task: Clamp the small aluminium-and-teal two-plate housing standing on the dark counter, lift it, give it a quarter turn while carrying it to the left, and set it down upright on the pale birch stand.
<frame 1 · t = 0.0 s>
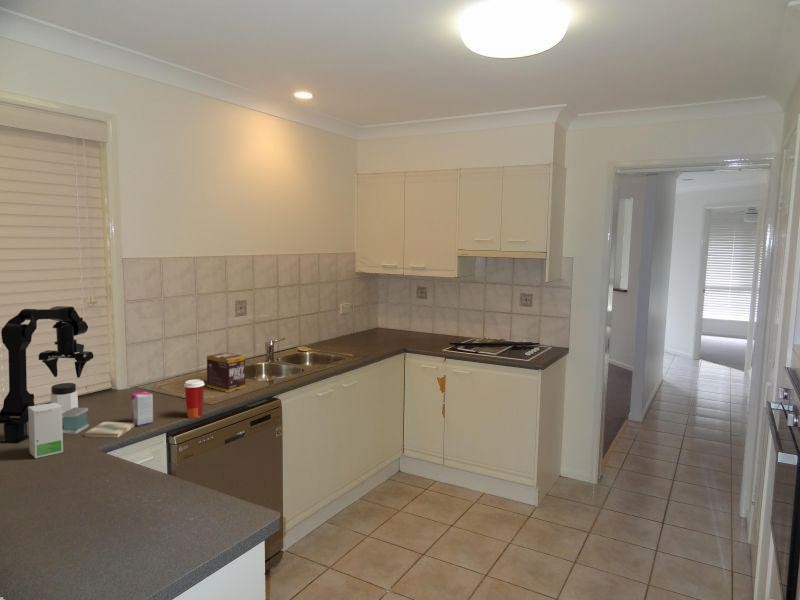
hand: (67, 377, 213), 15 cm above the worktop, fingers open, 9 cm apart
birch stand: (110, 430, 196), on the worktop
housing: (75, 430, 197), on the worktop
supplement box 2: (226, 388, 255), on the worktop
supplement box: (142, 423, 205), on the worktop
skincare box: (47, 453, 176), on the worktop
paper cup: (194, 416, 214), on the worktop
jar: (65, 415, 212), on the worktop
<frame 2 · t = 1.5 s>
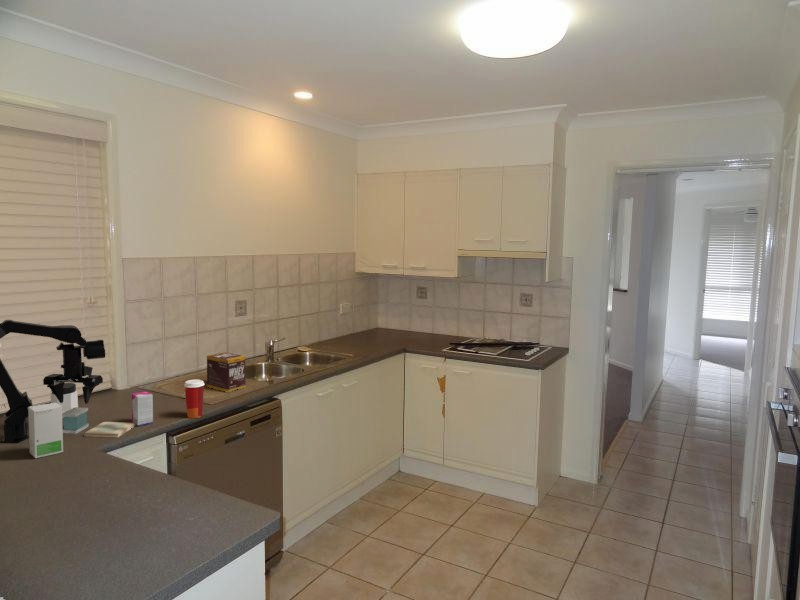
hand: (74, 403, 196), 10 cm above the worktop, fingers open, 9 cm apart
nothing on the worktop moved.
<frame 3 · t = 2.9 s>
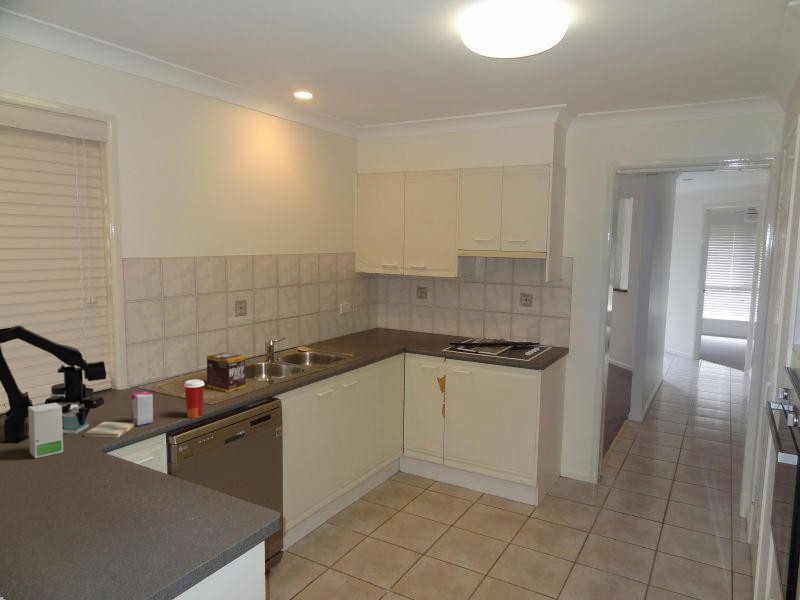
hand: (75, 424, 197), 2 cm above the worktop, fingers closed on housing, 5 cm apart
housing: (75, 429, 197), on the worktop, touching gripper
everything else where it was.
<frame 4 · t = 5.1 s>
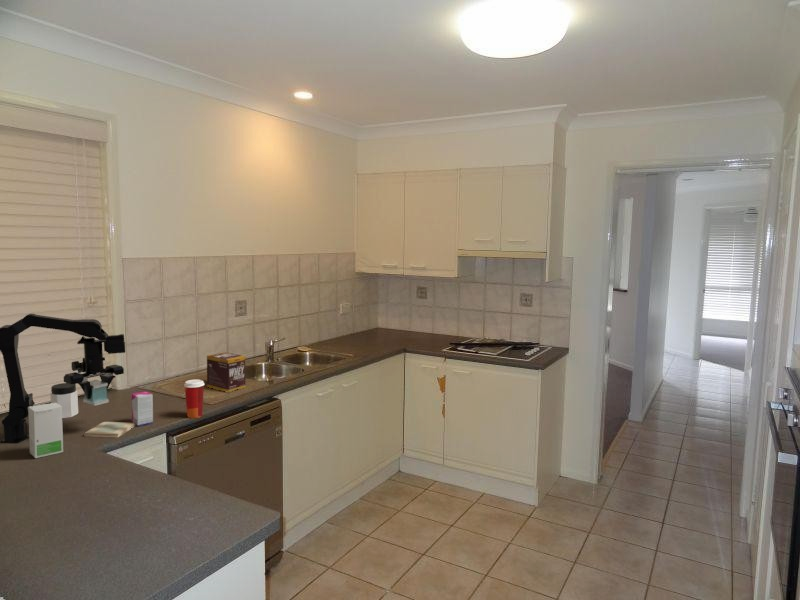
hand: (96, 397, 195), 12 cm above the worktop, fingers closed on housing, 5 cm apart
housing: (96, 402, 196), point 11 cm above the worktop, touching gripper
everything else where it was.
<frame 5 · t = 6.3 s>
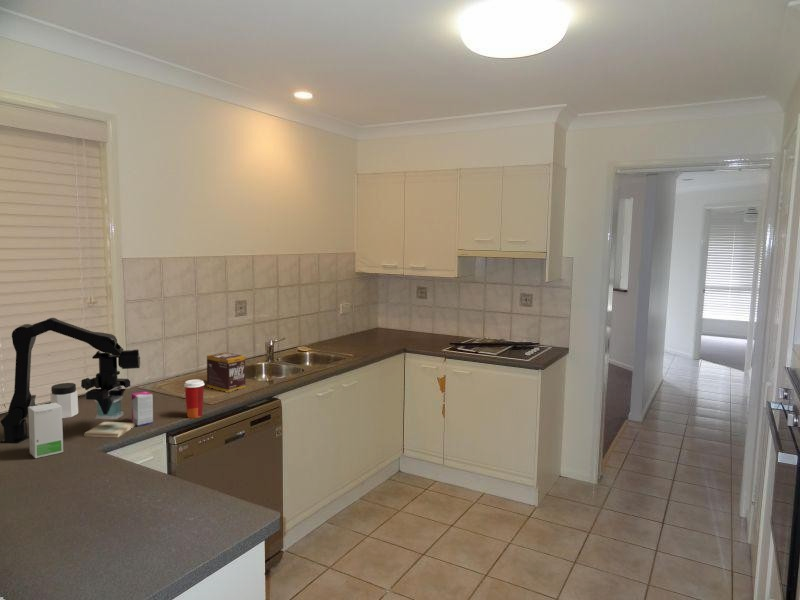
hand: (109, 411, 195), 7 cm above the worktop, fingers closed on housing, 5 cm apart
housing: (109, 416, 196), point 5 cm above the worktop, touching gripper
everything else where it was.
when the fingers open (4 cm above the worktop, at t = 7.2 s): housing drops 1 cm, resting on birch stand.
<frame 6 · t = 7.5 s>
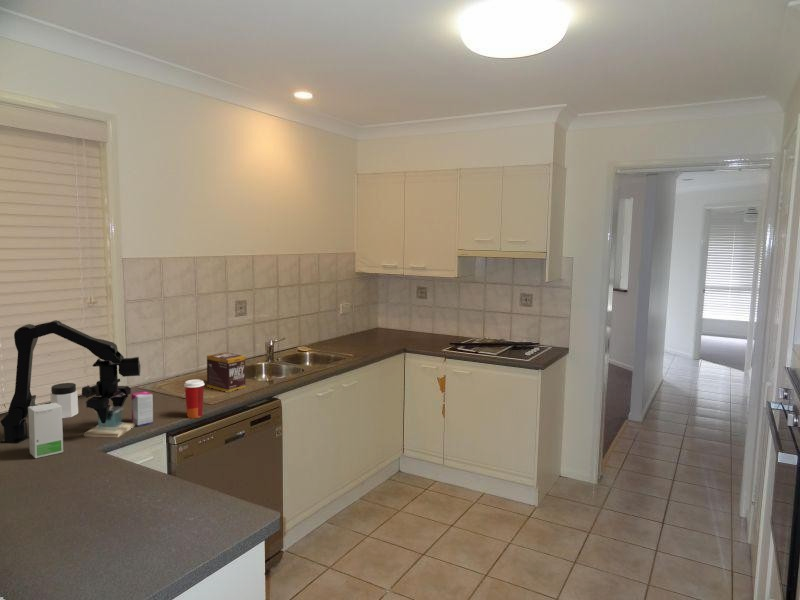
hand: (110, 419, 196), 4 cm above the worktop, fingers open, 8 cm apart
housing: (110, 427, 196), point 1 cm above the worktop, touching birch stand
everything else where it was.
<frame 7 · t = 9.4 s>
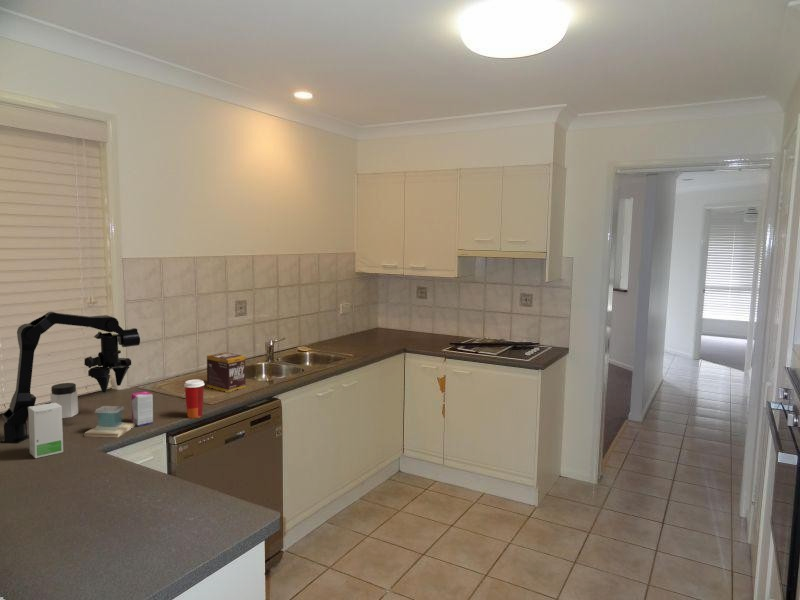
hand: (111, 388, 207), 12 cm above the worktop, fingers open, 9 cm apart
nothing on the worktop moved.
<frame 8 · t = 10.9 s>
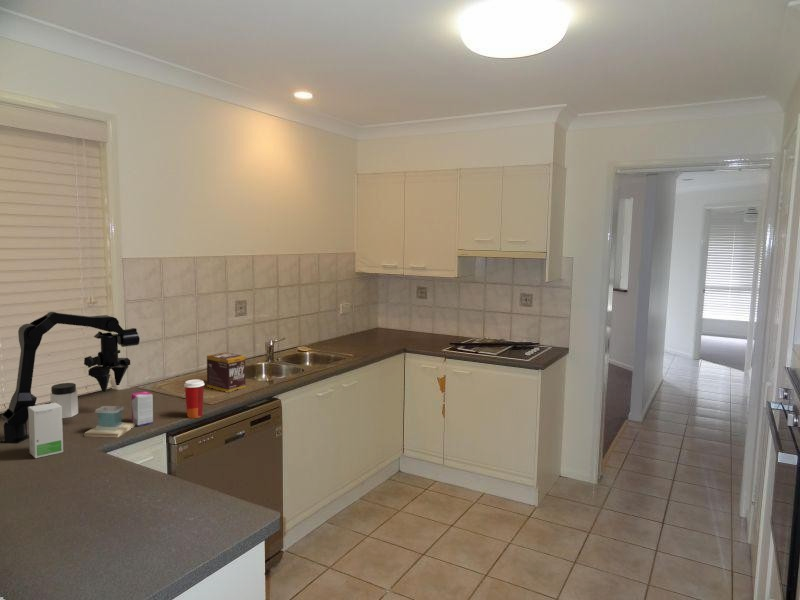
hand: (111, 388, 208), 12 cm above the worktop, fingers open, 9 cm apart
nothing on the worktop moved.
at the end: housing inside the target area on the birch stand (0.1 cm from its centre), point 1.3 cm above the birch stand's base; housing tilted 0°; the gripper is holding nothing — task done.
